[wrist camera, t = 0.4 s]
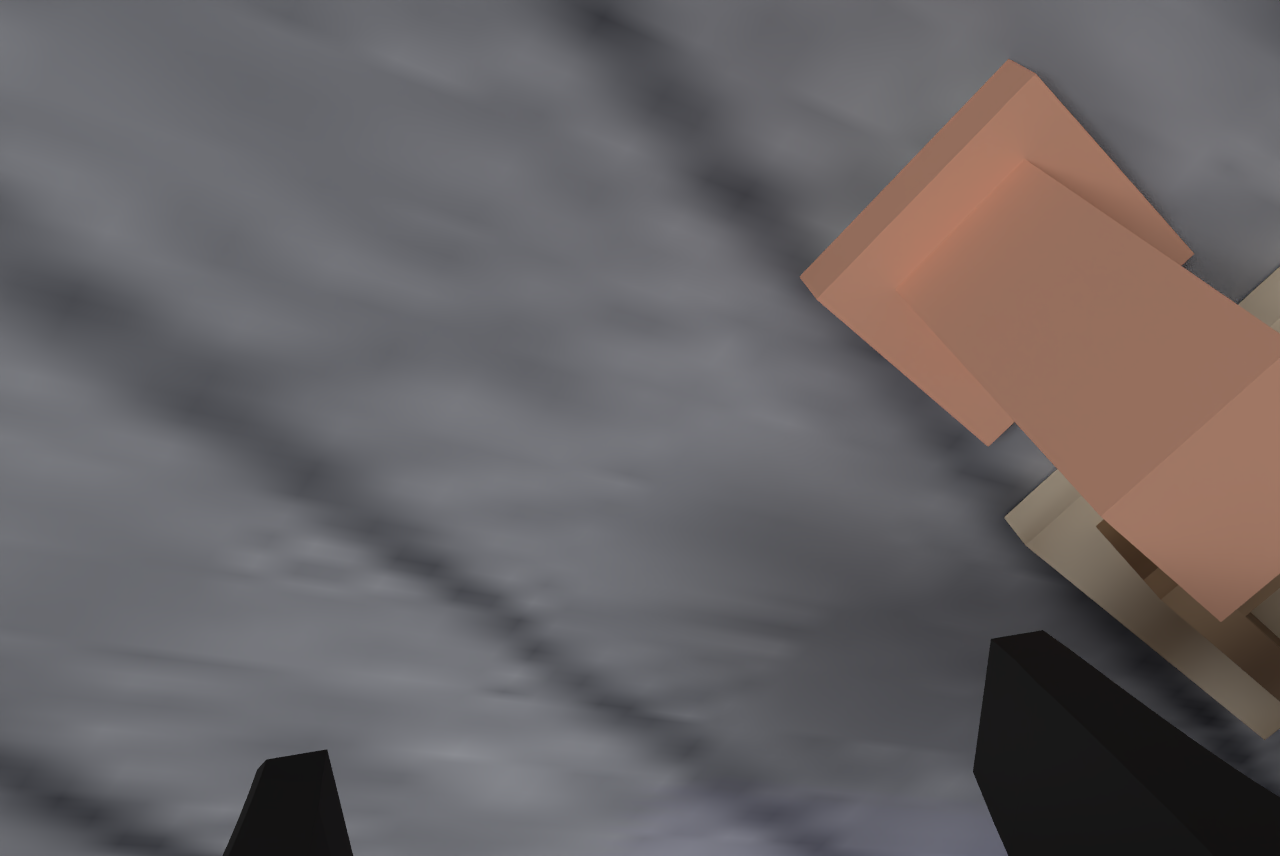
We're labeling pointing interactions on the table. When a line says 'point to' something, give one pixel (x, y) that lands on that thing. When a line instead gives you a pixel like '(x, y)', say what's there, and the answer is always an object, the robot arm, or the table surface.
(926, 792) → the table surface
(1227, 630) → the keyhole board
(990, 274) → the key peg
